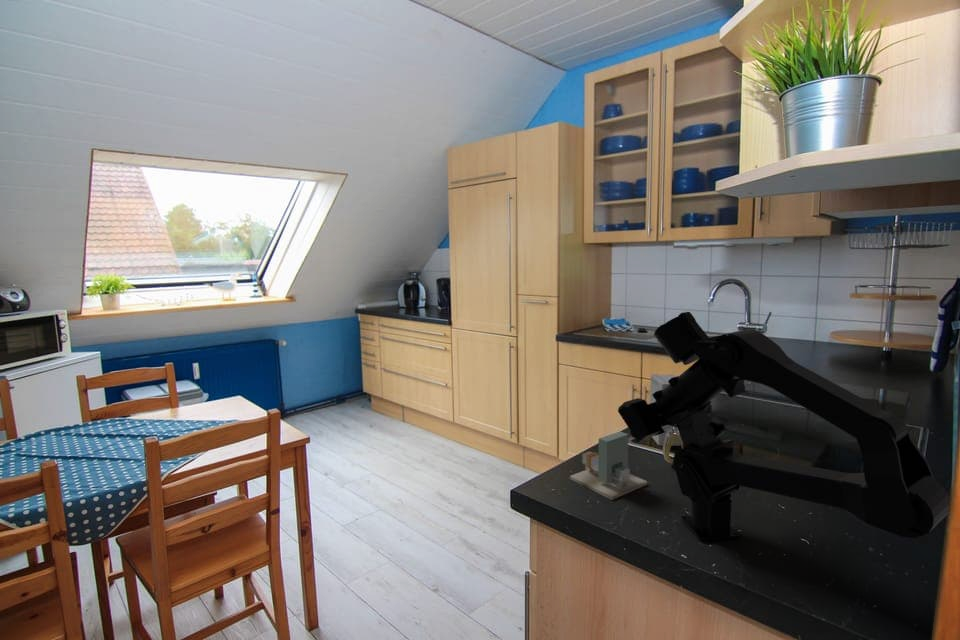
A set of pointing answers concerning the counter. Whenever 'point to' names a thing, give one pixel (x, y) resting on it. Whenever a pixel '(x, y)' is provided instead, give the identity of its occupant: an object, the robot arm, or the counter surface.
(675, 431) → the ring
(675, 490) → the counter surface
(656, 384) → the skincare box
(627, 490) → the guide board
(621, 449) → the sleeve collar
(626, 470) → the grey square-edged bar
